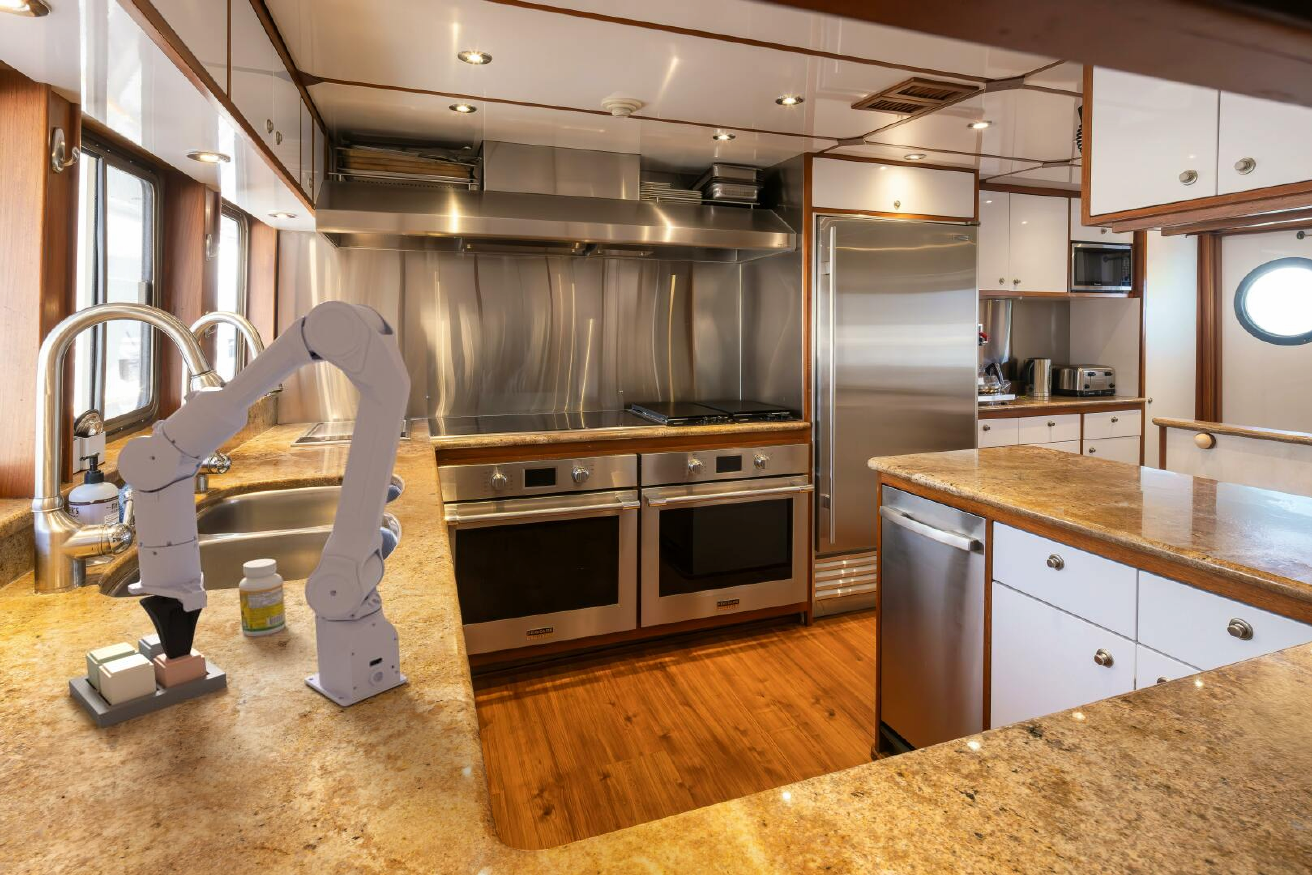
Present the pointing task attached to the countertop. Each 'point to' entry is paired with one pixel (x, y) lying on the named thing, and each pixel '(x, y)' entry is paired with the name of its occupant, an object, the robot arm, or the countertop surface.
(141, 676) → the key cream
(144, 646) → the key slate
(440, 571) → the countertop surface
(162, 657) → the key terracotta
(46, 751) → the countertop surface
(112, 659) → the key sage
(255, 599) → the supplement bottle
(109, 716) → the keypad board
